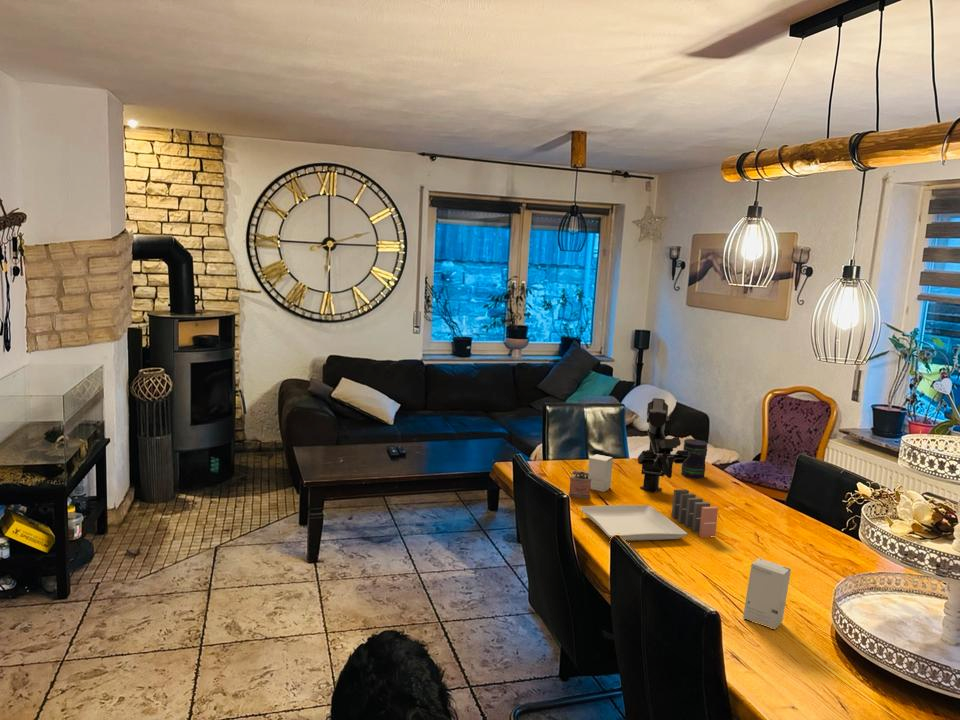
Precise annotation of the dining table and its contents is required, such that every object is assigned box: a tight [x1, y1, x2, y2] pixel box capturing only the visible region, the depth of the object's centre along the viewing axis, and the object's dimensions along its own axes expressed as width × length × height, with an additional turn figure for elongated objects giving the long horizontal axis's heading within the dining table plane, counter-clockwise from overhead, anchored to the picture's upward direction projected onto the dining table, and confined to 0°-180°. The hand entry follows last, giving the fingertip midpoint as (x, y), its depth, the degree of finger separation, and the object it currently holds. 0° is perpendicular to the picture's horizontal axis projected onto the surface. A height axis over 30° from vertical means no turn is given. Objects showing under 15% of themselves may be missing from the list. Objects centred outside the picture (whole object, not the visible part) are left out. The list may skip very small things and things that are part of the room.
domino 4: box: [691, 501, 711, 533], centre depth 236 cm, size 2×5×10 cm, turn 104°
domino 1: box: [671, 488, 690, 519], centre depth 249 cm, size 2×5×10 cm, turn 104°
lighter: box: [568, 470, 592, 499], centre depth 266 cm, size 8×3×10 cm, turn 84°
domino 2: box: [677, 492, 697, 524], centre depth 245 cm, size 2×5×10 cm, turn 105°
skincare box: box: [742, 557, 792, 630], centre depth 175 cm, size 8×6×15 cm
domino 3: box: [684, 497, 704, 529], centre depth 240 cm, size 2×5×10 cm, turn 104°
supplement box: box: [587, 453, 614, 493], centre depth 278 cm, size 7×7×13 cm
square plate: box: [579, 504, 688, 542], centre depth 236 cm, size 27×27×4 cm
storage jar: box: [680, 438, 708, 480], centre depth 303 cm, size 10×10×15 cm
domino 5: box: [698, 506, 719, 538], centre depth 232 cm, size 2×5×10 cm, turn 104°
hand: (670, 477), depth 256 cm, fingers closed
